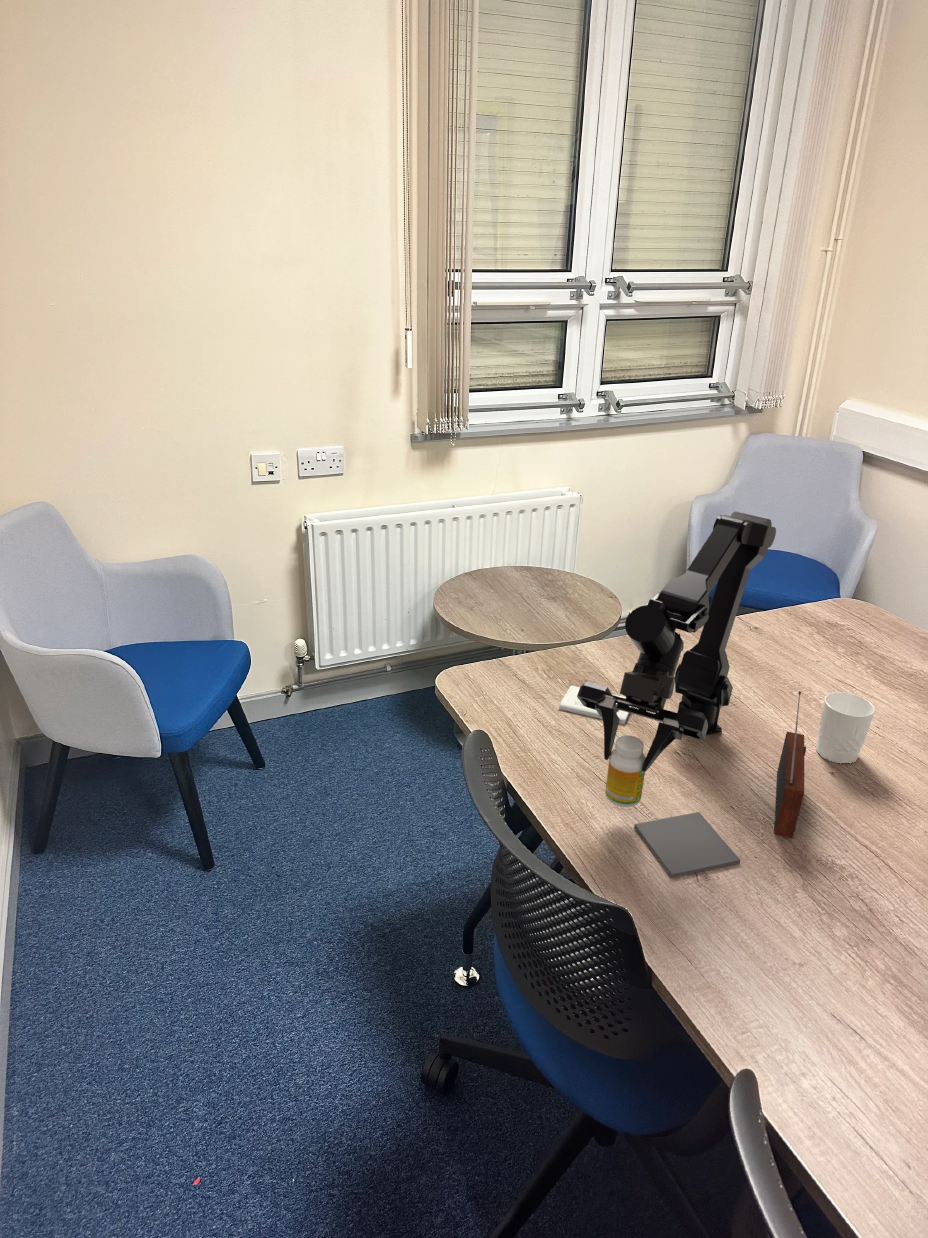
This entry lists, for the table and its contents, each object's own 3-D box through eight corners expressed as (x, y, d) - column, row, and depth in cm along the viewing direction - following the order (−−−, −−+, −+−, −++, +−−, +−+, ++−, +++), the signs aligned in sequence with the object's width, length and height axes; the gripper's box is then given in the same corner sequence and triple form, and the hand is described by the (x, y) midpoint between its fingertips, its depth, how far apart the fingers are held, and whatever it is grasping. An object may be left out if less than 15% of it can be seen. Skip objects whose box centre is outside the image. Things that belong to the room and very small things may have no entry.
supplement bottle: (640, 810, 122) (648, 756, 118) (603, 805, 123) (610, 750, 119) (641, 788, 127) (649, 735, 123) (605, 783, 128) (612, 730, 124)
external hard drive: (624, 727, 151) (558, 711, 155) (634, 705, 158) (570, 691, 162) (625, 719, 150) (559, 704, 155) (635, 698, 157) (571, 683, 161)
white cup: (861, 747, 146) (875, 698, 142) (860, 771, 140) (874, 721, 136) (813, 736, 149) (826, 687, 145) (810, 759, 143) (823, 709, 139)
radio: (795, 840, 124) (816, 756, 117) (773, 835, 125) (794, 751, 118) (796, 771, 140) (815, 693, 133) (777, 767, 141) (795, 690, 134)
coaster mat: (698, 815, 128) (698, 812, 128) (739, 863, 119) (740, 860, 119) (634, 827, 125) (634, 824, 125) (671, 877, 116) (672, 874, 116)
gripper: (587, 633, 122) (552, 733, 118) (715, 665, 114) (683, 773, 110) (600, 658, 132) (569, 751, 128) (719, 689, 124) (690, 789, 120)
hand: (624, 765), depth 121 cm, fingers closed on supplement bottle, 5 cm apart
